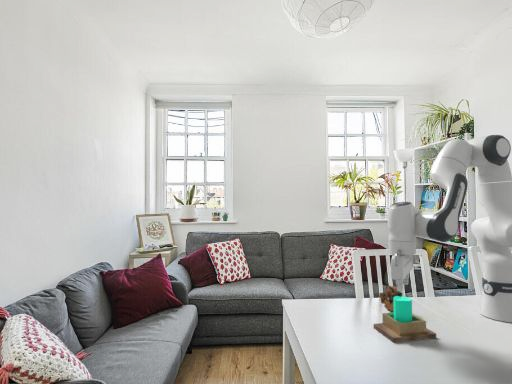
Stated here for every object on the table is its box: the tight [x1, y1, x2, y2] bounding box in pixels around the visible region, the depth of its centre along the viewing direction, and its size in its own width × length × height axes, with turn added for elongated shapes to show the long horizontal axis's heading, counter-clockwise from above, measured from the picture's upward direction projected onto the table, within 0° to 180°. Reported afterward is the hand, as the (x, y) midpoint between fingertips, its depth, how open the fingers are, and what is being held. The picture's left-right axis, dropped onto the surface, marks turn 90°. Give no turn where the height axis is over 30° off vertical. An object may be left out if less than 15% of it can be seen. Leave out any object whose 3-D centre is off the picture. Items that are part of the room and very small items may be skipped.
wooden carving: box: [379, 285, 404, 312], centre depth 135 cm, size 16×5×10 cm, turn 11°
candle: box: [393, 294, 413, 322], centre depth 113 cm, size 6×6×12 cm
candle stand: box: [373, 311, 437, 344], centre depth 112 cm, size 16×12×6 cm
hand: (402, 287), depth 113 cm, fingers open, 8 cm apart
